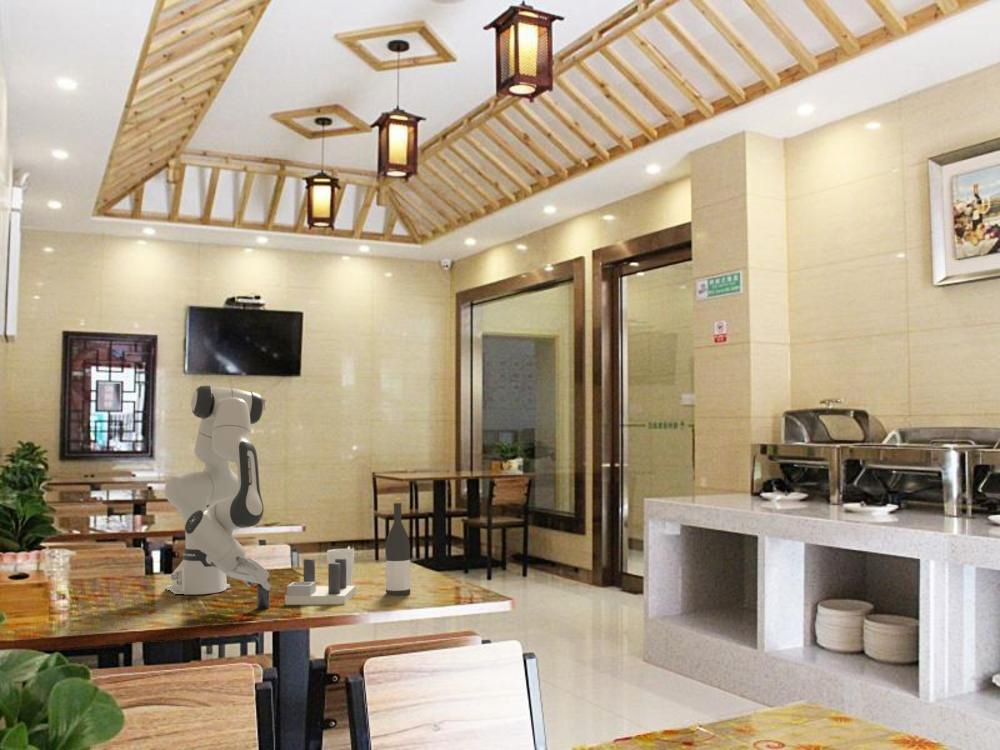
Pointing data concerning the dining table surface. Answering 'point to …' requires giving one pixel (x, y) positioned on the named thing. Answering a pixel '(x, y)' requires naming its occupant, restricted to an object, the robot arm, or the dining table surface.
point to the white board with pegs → (321, 594)
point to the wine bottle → (397, 556)
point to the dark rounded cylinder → (262, 597)
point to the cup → (349, 557)
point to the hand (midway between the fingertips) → (260, 586)
